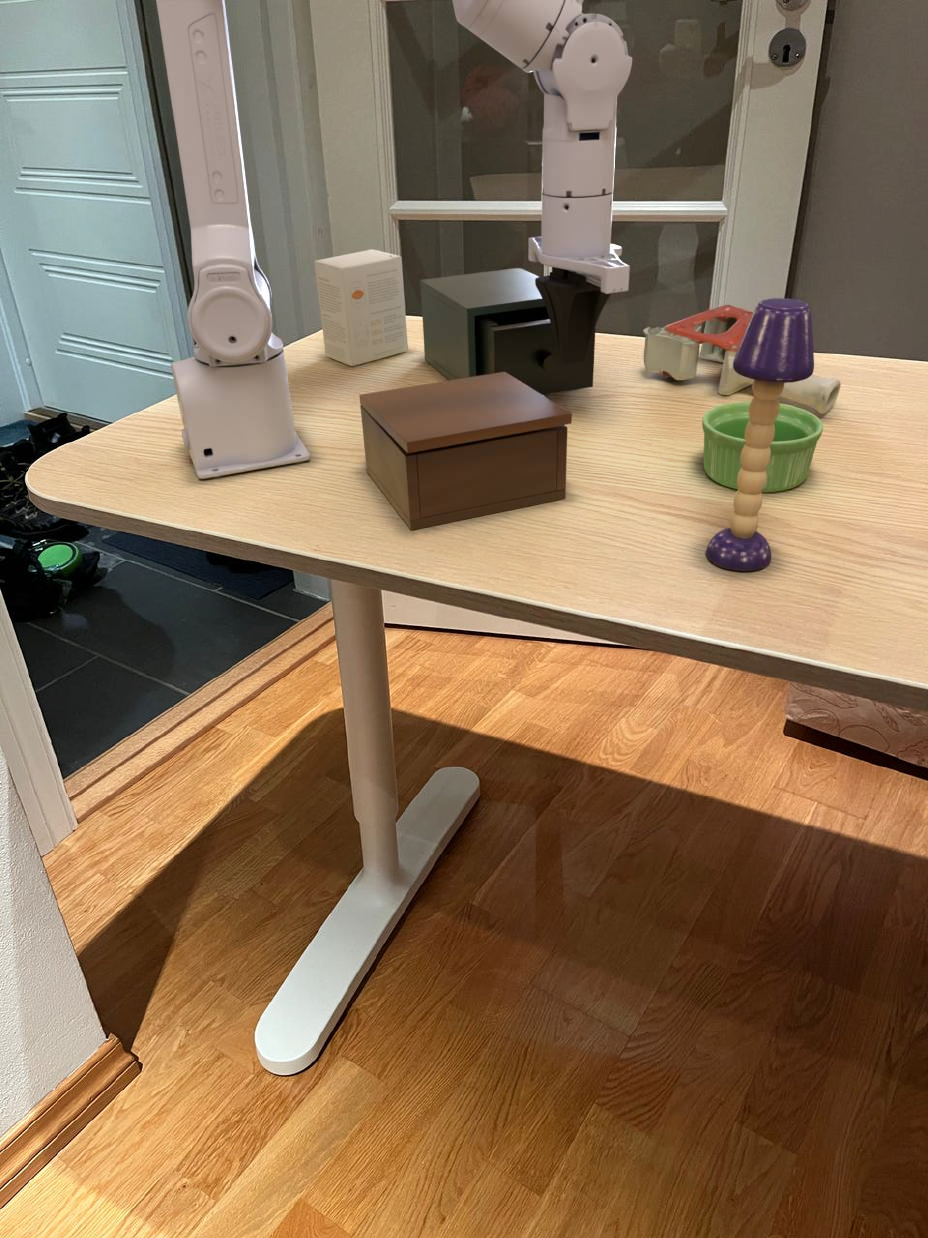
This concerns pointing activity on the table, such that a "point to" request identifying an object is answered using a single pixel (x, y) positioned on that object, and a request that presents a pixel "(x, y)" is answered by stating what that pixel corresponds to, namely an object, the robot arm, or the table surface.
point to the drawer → (528, 351)
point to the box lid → (462, 411)
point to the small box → (362, 306)
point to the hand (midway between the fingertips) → (572, 360)
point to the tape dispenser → (722, 355)
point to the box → (466, 474)
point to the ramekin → (787, 448)
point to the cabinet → (468, 313)
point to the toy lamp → (762, 420)
